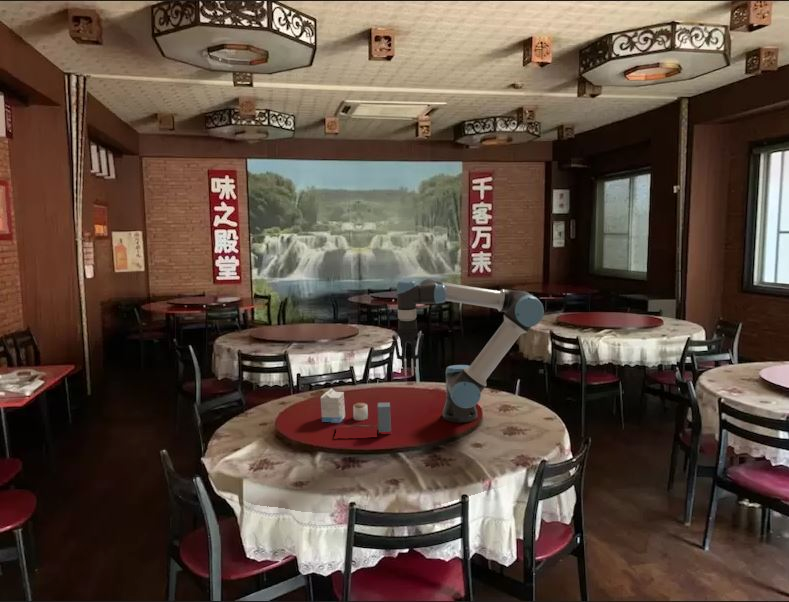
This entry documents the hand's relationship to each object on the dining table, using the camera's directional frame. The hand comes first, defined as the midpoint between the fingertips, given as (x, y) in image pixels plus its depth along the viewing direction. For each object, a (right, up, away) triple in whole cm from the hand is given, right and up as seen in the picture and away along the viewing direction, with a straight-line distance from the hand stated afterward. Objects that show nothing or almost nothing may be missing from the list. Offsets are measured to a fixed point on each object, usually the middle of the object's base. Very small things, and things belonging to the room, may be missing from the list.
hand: (409, 374), depth 243 cm
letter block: (-10, -24, +5) cm, 27 cm away
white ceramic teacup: (-21, -22, +21) cm, 37 cm away
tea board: (-22, -25, +5) cm, 34 cm away
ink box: (-33, -23, +20) cm, 45 cm away
